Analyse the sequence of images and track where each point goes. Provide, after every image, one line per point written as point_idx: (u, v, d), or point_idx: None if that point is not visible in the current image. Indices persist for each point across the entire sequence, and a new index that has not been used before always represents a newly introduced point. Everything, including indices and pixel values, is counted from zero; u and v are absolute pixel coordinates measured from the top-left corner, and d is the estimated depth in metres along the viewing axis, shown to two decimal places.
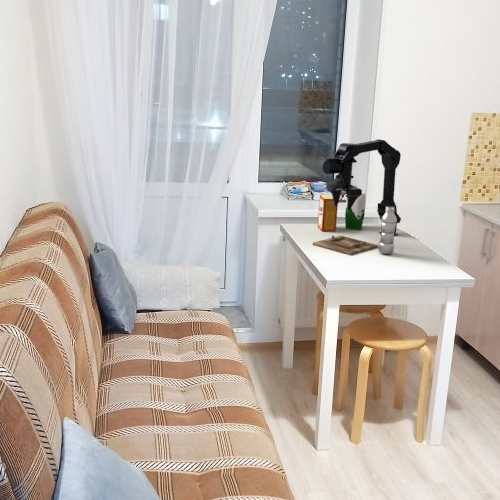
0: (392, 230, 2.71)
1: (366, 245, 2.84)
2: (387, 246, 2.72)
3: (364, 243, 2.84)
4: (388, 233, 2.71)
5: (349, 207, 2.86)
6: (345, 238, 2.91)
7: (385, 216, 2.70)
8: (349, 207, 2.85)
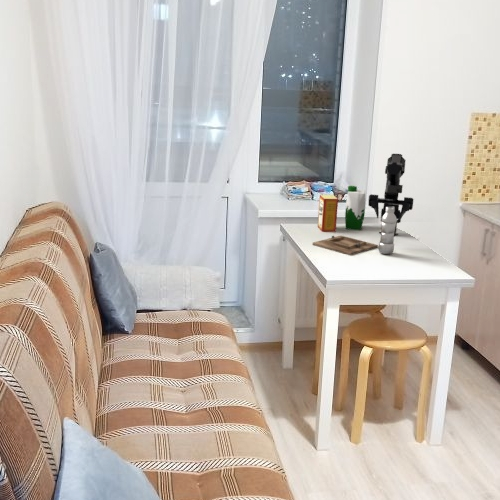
0: (392, 230, 2.71)
1: (366, 245, 2.84)
2: (387, 246, 2.72)
3: (364, 243, 2.84)
4: (388, 233, 2.71)
5: (401, 216, 2.79)
6: (345, 238, 2.91)
7: (385, 216, 2.70)
8: (401, 216, 2.79)
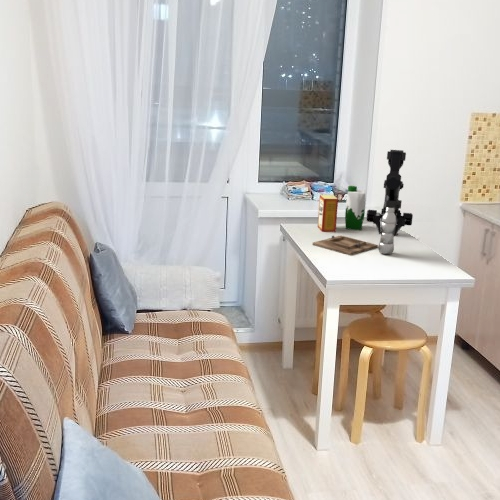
0: (392, 230, 2.71)
1: (366, 245, 2.84)
2: (387, 246, 2.72)
3: (364, 243, 2.84)
4: (388, 233, 2.71)
5: (396, 232, 2.72)
6: (345, 238, 2.91)
7: (385, 216, 2.70)
8: (397, 232, 2.72)
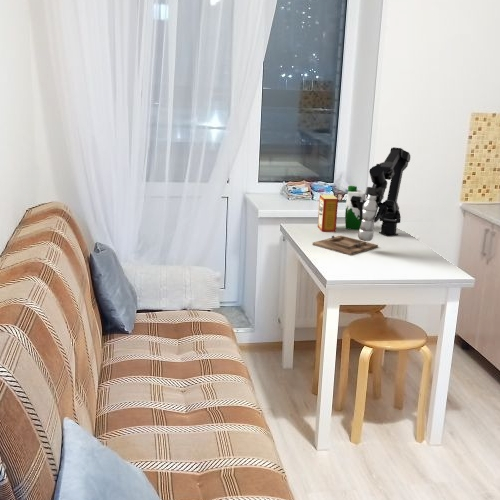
0: (371, 218, 2.73)
1: (366, 245, 2.84)
2: (365, 233, 2.74)
3: (364, 243, 2.84)
4: (367, 220, 2.73)
5: (377, 219, 2.73)
6: (345, 238, 2.91)
7: (366, 203, 2.72)
8: (377, 219, 2.73)
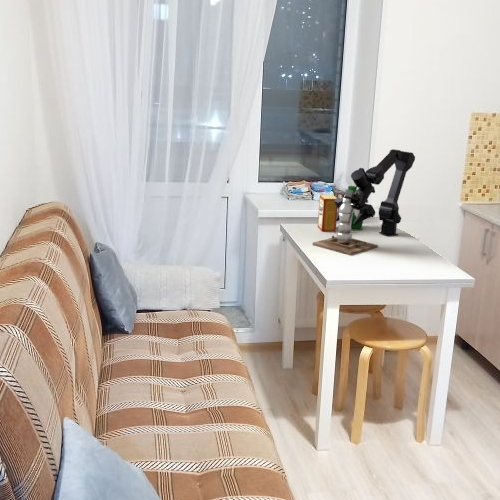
0: (346, 220, 2.80)
1: (366, 245, 2.84)
2: (341, 235, 2.82)
3: (364, 243, 2.84)
4: (342, 223, 2.81)
5: (356, 222, 2.78)
6: None
7: (340, 206, 2.81)
8: (356, 222, 2.78)
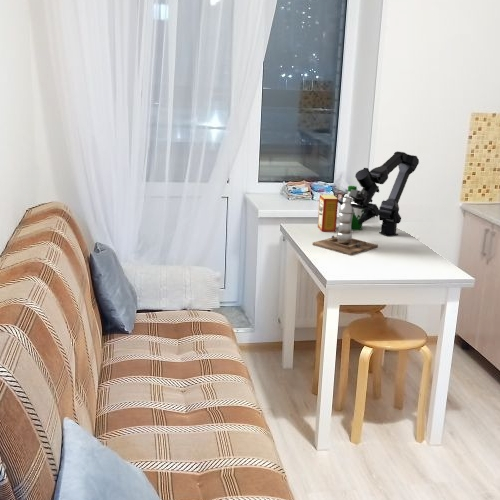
0: (346, 220, 2.80)
1: (366, 245, 2.84)
2: (341, 235, 2.82)
3: (364, 243, 2.84)
4: (342, 223, 2.81)
5: (361, 221, 2.81)
6: None
7: (341, 206, 2.81)
8: (361, 221, 2.80)
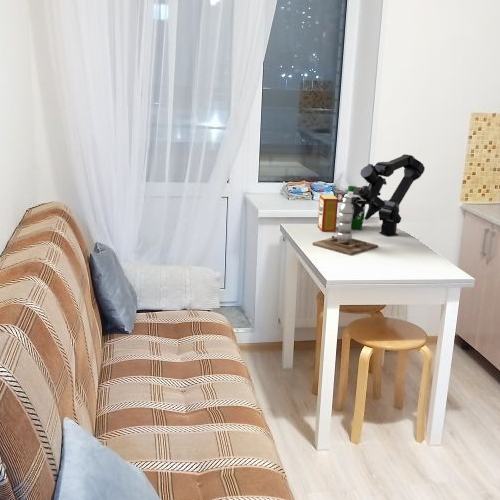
0: (346, 220, 2.80)
1: (366, 245, 2.84)
2: (341, 235, 2.82)
3: (364, 243, 2.84)
4: (342, 223, 2.81)
5: (367, 216, 2.85)
6: None
7: (341, 206, 2.81)
8: (367, 216, 2.85)
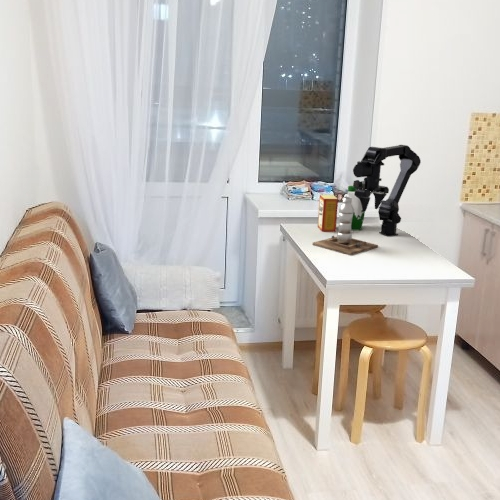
0: (346, 220, 2.80)
1: (366, 245, 2.84)
2: (341, 235, 2.82)
3: (364, 243, 2.84)
4: (342, 223, 2.81)
5: (363, 208, 2.92)
6: None
7: (341, 206, 2.81)
8: (363, 208, 2.92)
